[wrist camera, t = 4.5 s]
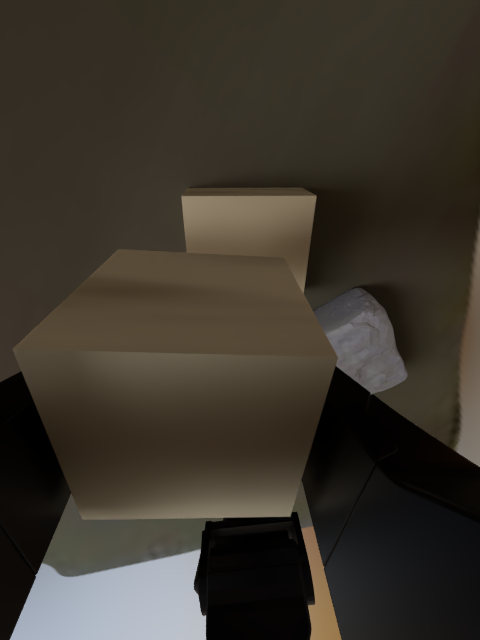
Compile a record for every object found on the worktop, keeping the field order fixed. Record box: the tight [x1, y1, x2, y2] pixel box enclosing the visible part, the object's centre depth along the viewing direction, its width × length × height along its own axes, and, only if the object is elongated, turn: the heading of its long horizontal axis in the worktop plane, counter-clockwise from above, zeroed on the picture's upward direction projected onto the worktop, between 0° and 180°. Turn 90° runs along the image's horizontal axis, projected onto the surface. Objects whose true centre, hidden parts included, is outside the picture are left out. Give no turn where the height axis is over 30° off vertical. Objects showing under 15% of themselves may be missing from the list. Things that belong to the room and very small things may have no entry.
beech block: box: [13, 249, 338, 520], centre depth 8 cm, size 5×5×5 cm
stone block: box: [313, 288, 407, 394], centre depth 24 cm, size 12×5×10 cm
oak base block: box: [182, 188, 316, 294], centre depth 18 cm, size 7×7×4 cm
